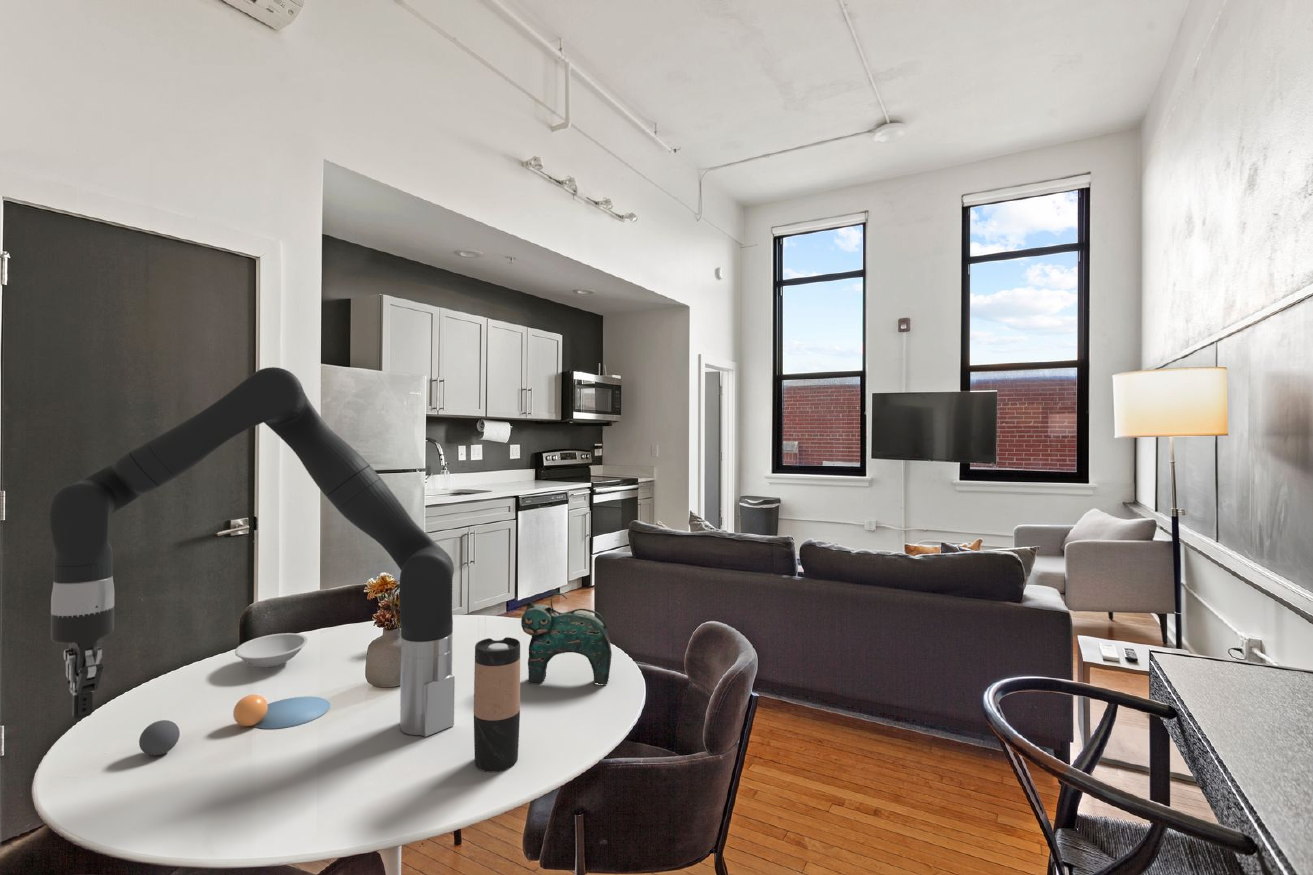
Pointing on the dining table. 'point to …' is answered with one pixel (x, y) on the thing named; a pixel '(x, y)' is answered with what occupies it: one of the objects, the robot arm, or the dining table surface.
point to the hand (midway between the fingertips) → (82, 715)
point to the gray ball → (159, 737)
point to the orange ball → (250, 710)
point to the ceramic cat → (565, 639)
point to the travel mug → (496, 703)
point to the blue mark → (293, 712)
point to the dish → (271, 649)
